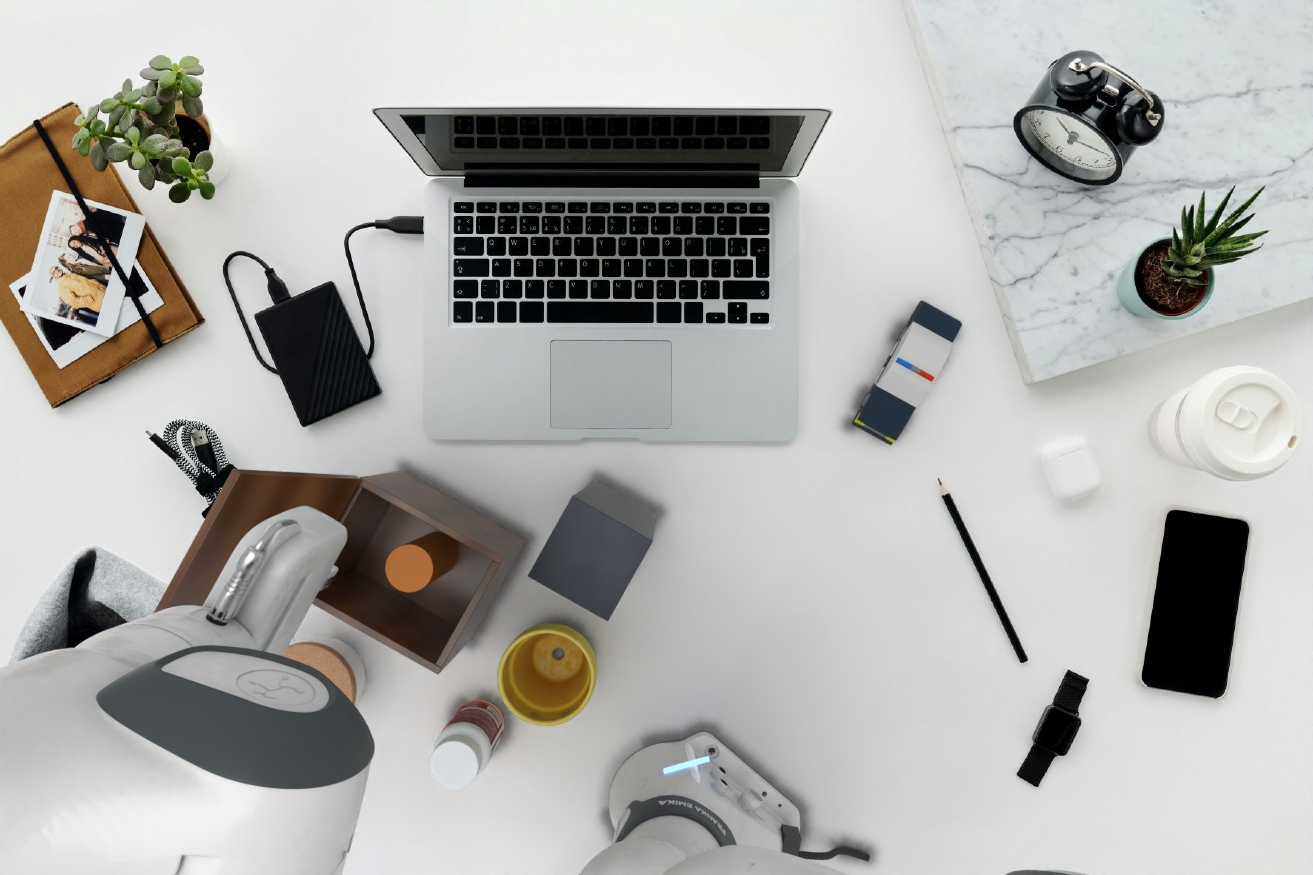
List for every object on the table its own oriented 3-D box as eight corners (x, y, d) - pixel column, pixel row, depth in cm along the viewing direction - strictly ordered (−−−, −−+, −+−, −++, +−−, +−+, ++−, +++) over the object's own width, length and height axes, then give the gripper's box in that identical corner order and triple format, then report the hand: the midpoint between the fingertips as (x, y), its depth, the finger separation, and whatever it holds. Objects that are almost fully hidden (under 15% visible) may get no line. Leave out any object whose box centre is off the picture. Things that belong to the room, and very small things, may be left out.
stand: (656, 512, 91) (652, 541, 67) (623, 571, 91) (607, 621, 67) (597, 478, 91) (572, 495, 67) (563, 538, 92) (527, 576, 68)
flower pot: (528, 597, 92) (511, 617, 82) (612, 621, 92) (606, 644, 82) (504, 682, 92) (485, 712, 82) (589, 706, 92) (579, 739, 82)
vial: (466, 545, 91) (441, 559, 81) (445, 582, 91) (418, 601, 81) (429, 524, 91) (399, 535, 81) (408, 561, 91) (376, 577, 81)
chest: (527, 539, 92) (503, 557, 78) (471, 639, 92) (437, 675, 78) (404, 470, 92) (359, 476, 78) (348, 570, 92) (294, 594, 79)
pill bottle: (453, 697, 92) (423, 735, 81) (505, 698, 92) (483, 735, 80) (453, 749, 92) (423, 794, 81) (505, 750, 92) (482, 795, 81)
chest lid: (240, 473, 61) (232, 468, 61) (156, 625, 61) (149, 620, 61) (361, 479, 78) (354, 475, 78) (295, 597, 78) (289, 593, 78)
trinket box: (369, 724, 92) (336, 758, 83) (281, 706, 92) (237, 737, 83) (387, 635, 92) (356, 659, 83) (299, 617, 92) (257, 638, 83)
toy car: (848, 424, 91) (859, 423, 86) (916, 303, 91) (930, 295, 86) (887, 445, 91) (899, 446, 86) (954, 324, 91) (971, 317, 86)
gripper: (215, 498, 43) (325, 481, 57) (35, 820, 43) (189, 725, 57) (314, 555, 43) (401, 524, 57) (134, 877, 43) (264, 768, 57)
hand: (293, 627), depth 57 cm, fingers open, 8 cm apart
